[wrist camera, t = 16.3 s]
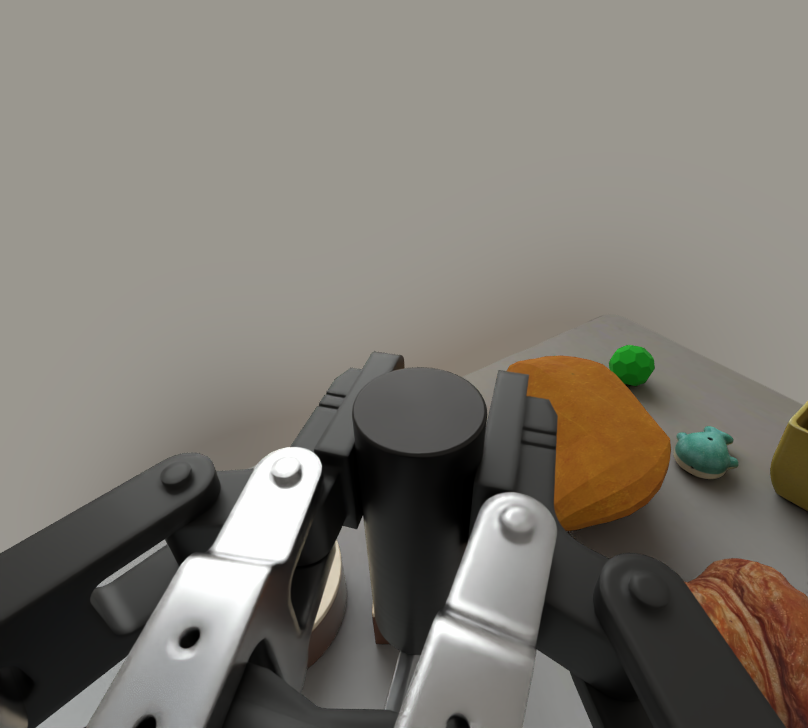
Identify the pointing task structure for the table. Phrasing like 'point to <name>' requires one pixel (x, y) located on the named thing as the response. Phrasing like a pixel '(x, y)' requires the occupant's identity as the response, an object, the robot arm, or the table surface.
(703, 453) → the whale figurine
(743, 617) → the pastry
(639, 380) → the polyhedron
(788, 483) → the flower pot
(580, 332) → the table surface
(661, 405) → the table surface
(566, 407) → the bread
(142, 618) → the robot arm
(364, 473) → the knife
